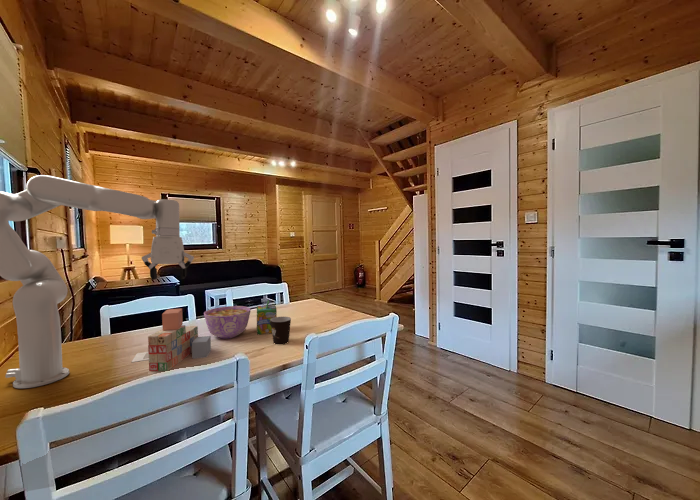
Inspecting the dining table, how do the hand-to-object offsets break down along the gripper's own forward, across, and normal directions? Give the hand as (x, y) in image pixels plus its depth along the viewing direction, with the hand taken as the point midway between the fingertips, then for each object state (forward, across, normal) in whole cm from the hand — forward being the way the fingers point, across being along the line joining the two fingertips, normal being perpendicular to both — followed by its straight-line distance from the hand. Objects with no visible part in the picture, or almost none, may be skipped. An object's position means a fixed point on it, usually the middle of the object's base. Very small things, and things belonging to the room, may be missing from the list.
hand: (168, 279), depth 113 cm
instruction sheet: (+30, -7, +4) cm, 31 cm away
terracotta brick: (+18, +2, -2) cm, 18 cm away
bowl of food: (+30, +17, +22) cm, 41 cm away
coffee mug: (+29, +41, +9) cm, 51 cm away
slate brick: (+30, +11, +1) cm, 32 cm away
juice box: (+29, +34, +24) cm, 51 cm away
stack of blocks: (+30, +3, -1) cm, 30 cm away
